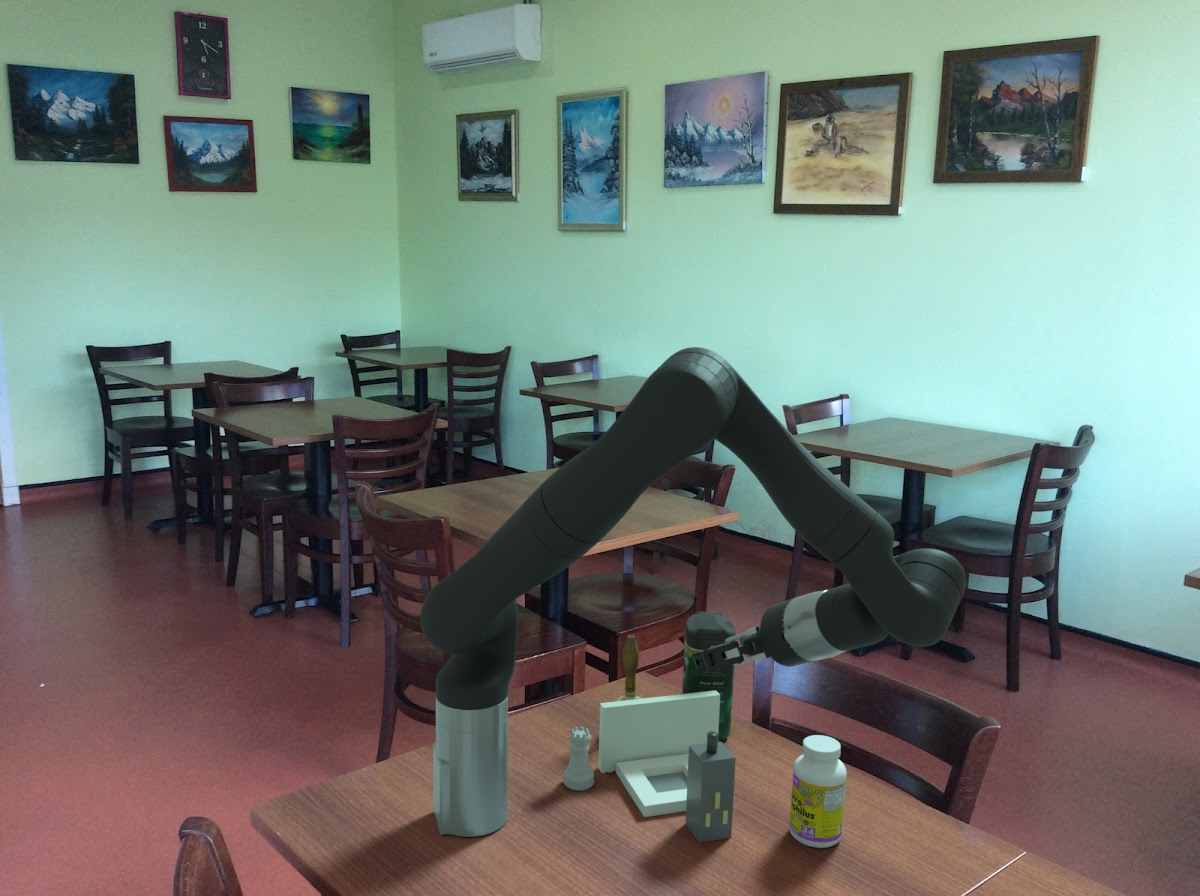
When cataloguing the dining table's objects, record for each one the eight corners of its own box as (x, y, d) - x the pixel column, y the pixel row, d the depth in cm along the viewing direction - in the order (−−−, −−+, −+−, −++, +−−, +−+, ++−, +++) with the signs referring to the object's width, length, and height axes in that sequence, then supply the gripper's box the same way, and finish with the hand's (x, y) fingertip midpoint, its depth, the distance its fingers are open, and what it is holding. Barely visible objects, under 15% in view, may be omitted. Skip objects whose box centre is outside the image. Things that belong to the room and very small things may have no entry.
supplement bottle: (778, 827, 130) (784, 735, 128) (821, 817, 133) (827, 727, 130) (808, 855, 124) (815, 759, 122) (852, 844, 127) (859, 750, 124)
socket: (629, 819, 131) (632, 748, 129) (598, 767, 144) (600, 703, 142) (754, 800, 136) (758, 732, 135) (712, 753, 150) (715, 690, 148)
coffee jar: (733, 745, 152) (739, 629, 149) (681, 743, 152) (686, 628, 149) (727, 717, 162) (733, 608, 158) (679, 715, 162) (683, 606, 159)
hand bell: (614, 749, 150) (618, 648, 147) (595, 725, 158) (597, 629, 155) (664, 740, 153) (668, 642, 150) (643, 718, 161) (646, 624, 158)
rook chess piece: (557, 788, 138) (558, 734, 137) (570, 773, 143) (571, 721, 141) (587, 795, 137) (588, 740, 135) (599, 780, 141) (600, 727, 139)
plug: (699, 843, 126) (703, 744, 124) (685, 823, 130) (689, 728, 128) (731, 837, 127) (737, 740, 125) (717, 818, 132) (721, 724, 129)
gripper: (836, 583, 120) (748, 611, 133) (756, 611, 111) (669, 639, 124) (859, 643, 119) (767, 666, 131) (780, 676, 110) (689, 698, 122)
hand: (720, 653), depth 128 cm, fingers open, 8 cm apart
